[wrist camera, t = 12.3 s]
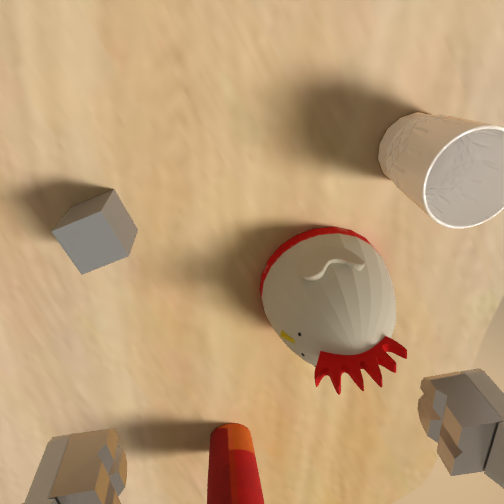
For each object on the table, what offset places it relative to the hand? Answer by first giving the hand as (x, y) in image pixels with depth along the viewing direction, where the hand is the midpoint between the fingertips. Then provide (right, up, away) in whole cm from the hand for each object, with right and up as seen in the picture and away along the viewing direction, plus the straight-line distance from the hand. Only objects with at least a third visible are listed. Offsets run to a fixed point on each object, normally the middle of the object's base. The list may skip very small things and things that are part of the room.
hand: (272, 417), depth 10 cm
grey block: (-15, +8, +27) cm, 32 cm away
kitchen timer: (+7, +1, +34) cm, 35 cm away
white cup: (+15, +14, +28) cm, 34 cm away
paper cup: (-3, -21, +44) cm, 49 cm away
